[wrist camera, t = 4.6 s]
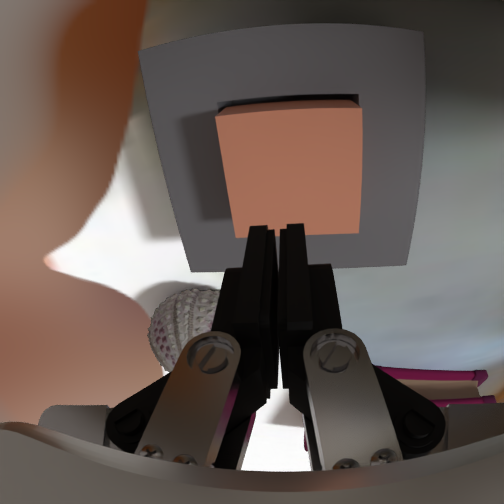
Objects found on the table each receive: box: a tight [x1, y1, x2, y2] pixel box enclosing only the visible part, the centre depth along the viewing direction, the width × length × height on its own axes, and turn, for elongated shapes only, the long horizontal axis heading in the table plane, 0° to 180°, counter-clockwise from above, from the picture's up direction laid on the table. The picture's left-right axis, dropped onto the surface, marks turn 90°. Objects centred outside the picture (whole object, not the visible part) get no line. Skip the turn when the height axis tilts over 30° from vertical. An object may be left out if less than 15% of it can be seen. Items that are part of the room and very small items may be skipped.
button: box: [215, 100, 363, 238], centre depth 16 cm, size 7×7×3 cm
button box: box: [138, 23, 426, 272], centre depth 19 cm, size 16×16×6 cm
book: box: [304, 366, 496, 451], centre depth 41 cm, size 21×28×8 cm
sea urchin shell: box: [147, 289, 220, 372], centre depth 32 cm, size 13×14×8 cm
